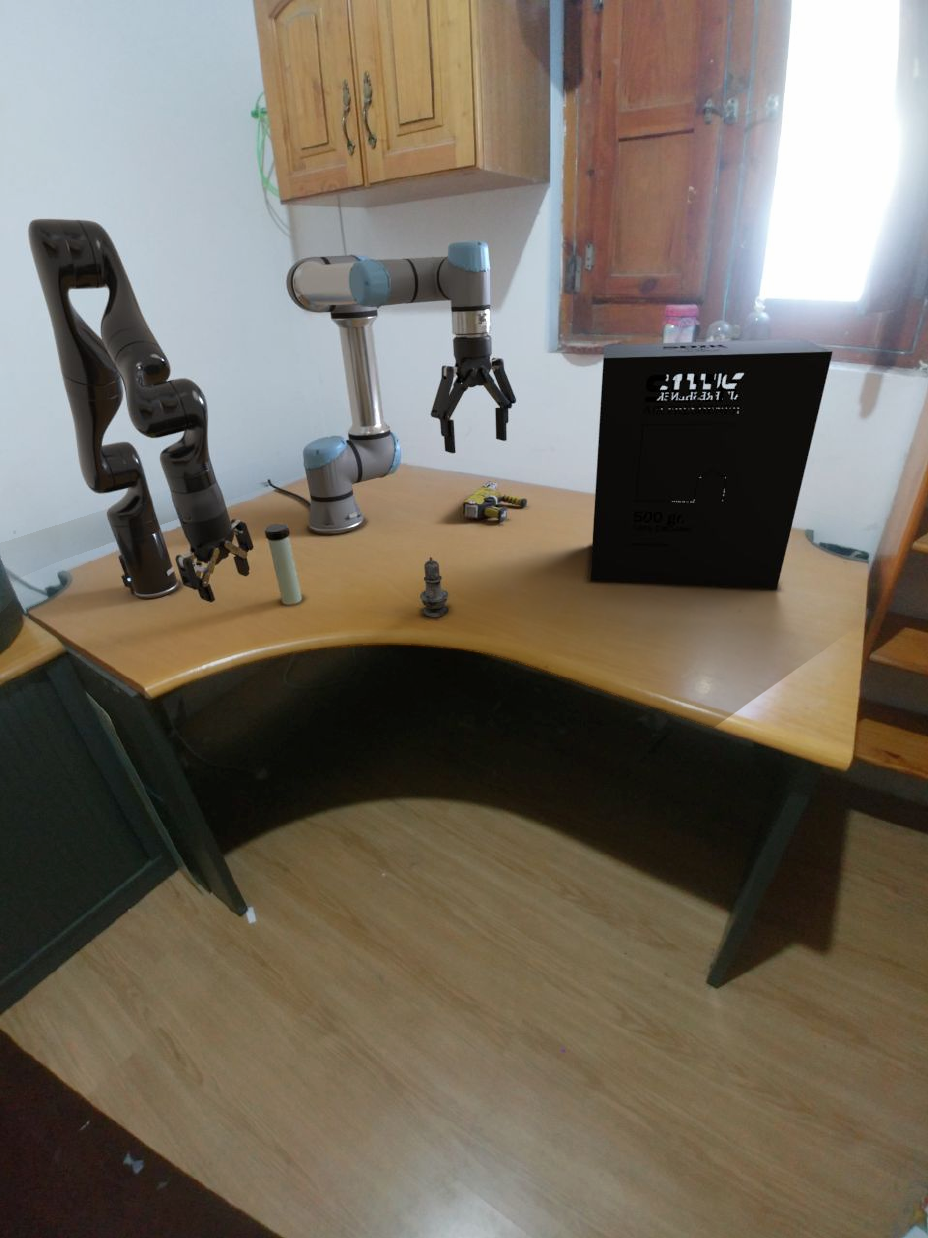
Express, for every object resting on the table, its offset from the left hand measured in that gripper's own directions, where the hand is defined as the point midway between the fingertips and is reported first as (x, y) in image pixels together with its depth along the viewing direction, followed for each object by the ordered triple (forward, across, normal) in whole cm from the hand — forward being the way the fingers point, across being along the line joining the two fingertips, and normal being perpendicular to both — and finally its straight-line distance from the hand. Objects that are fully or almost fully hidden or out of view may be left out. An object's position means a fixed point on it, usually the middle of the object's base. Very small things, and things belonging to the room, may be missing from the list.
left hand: (227, 587), depth 108 cm
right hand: (-11, -52, +24) cm, 58 cm away
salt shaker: (+13, -25, +28) cm, 40 cm away
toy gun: (+23, -84, +16) cm, 88 cm away
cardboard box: (+14, -64, +69) cm, 95 cm away
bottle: (+16, -17, -3) cm, 23 cm away
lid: (0, -19, -5) cm, 20 cm away
